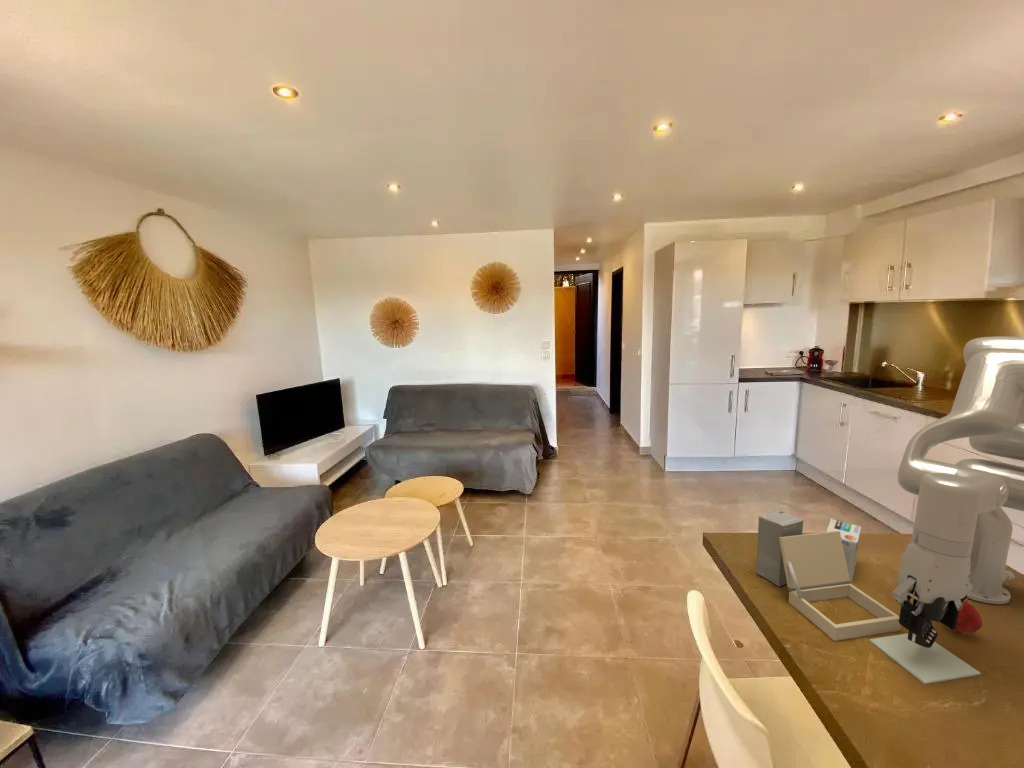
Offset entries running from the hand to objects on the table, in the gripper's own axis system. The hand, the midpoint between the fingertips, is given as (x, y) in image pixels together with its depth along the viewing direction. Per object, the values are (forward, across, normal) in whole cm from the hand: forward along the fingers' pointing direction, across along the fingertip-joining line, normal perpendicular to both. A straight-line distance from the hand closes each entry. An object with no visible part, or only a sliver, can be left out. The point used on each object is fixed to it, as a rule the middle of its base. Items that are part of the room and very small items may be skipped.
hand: (926, 626), depth 77 cm
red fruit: (+7, -14, -4) cm, 16 cm away
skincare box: (+7, +8, -27) cm, 29 cm away
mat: (+7, 0, 0) cm, 7 cm away
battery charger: (+3, 0, 0) cm, 3 cm away
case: (+7, +5, -14) cm, 17 cm away
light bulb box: (+7, -10, -27) cm, 30 cm away
